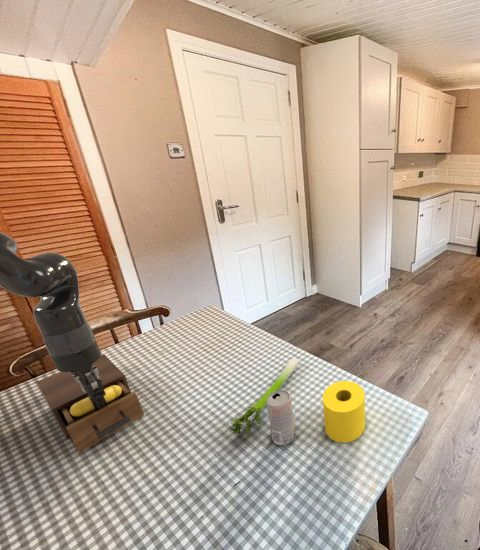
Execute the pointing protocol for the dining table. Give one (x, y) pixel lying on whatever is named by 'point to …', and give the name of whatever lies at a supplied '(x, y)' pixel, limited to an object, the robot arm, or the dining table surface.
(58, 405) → the cabinet
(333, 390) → the yellow toilet paper roll
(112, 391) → the yellow round-top cylinder
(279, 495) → the dining table surface
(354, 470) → the dining table surface
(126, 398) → the drawer
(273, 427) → the energy drink
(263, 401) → the celery stalk
